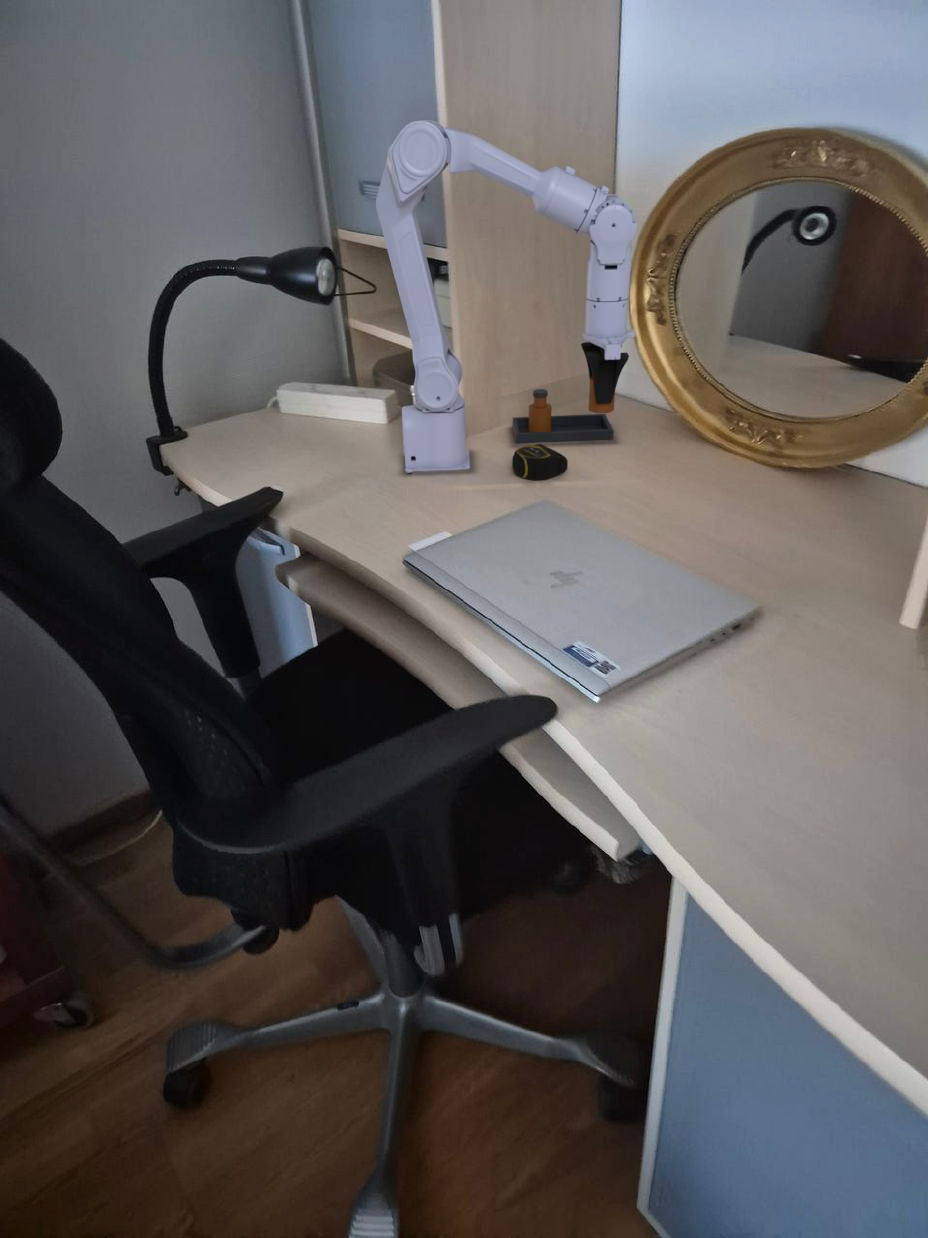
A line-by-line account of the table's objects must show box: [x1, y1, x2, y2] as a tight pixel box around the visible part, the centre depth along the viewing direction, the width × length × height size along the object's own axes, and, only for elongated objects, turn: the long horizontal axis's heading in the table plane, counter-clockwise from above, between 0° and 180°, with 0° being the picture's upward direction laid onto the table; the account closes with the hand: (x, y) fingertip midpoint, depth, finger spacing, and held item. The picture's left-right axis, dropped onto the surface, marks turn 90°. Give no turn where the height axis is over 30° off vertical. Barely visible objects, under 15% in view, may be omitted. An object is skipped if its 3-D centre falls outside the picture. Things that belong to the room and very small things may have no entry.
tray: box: [512, 413, 614, 445], centre depth 130 cm, size 15×8×2 cm, turn 91°
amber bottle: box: [588, 376, 616, 414], centre depth 115 cm, size 4×4×7 cm
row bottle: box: [528, 388, 552, 432], centre depth 128 cm, size 4×4×7 cm
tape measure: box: [511, 443, 569, 481], centre depth 115 cm, size 7×7×4 cm
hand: (601, 398), depth 116 cm, fingers closed on amber bottle, 3 cm apart
